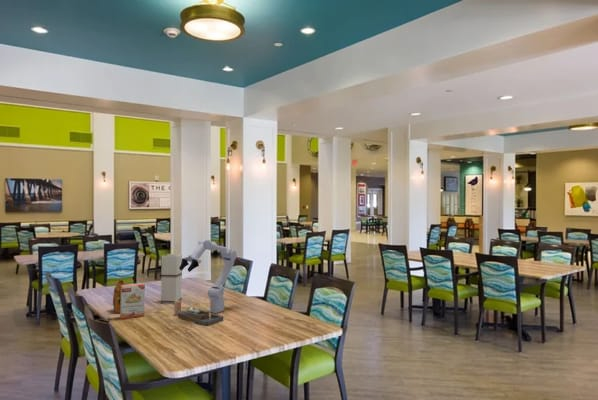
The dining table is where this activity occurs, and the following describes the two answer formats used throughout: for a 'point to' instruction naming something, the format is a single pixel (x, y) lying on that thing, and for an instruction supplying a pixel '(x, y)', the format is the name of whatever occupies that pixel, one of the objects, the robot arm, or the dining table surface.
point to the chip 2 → (197, 311)
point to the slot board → (202, 316)
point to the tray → (209, 320)
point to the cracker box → (132, 300)
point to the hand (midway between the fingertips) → (184, 270)
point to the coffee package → (117, 295)
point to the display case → (171, 278)
